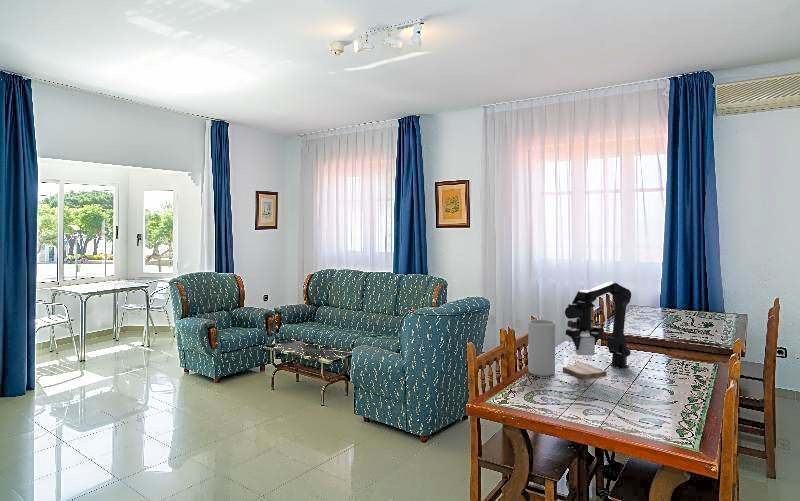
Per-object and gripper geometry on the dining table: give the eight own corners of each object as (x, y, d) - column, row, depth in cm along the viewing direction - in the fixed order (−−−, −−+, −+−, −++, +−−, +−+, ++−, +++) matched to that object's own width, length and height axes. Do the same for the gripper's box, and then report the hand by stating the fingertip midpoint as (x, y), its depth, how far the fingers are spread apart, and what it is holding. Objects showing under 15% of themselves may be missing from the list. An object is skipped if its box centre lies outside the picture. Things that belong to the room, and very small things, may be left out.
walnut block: (585, 367, 242) (585, 363, 242) (606, 375, 229) (606, 371, 229) (562, 371, 237) (562, 367, 237) (582, 379, 224) (582, 375, 224)
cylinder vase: (552, 369, 241) (552, 319, 240) (557, 376, 229) (557, 324, 227) (526, 368, 242) (526, 319, 241) (530, 376, 230) (530, 324, 229)
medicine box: (591, 353, 235) (592, 335, 234) (594, 355, 230) (595, 337, 230) (575, 353, 235) (575, 335, 235) (577, 355, 231) (578, 337, 230)
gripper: (588, 312, 243) (588, 343, 244) (558, 315, 236) (558, 347, 237) (605, 316, 232) (604, 348, 233) (573, 319, 226) (573, 352, 226)
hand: (584, 348), depth 233 cm, fingers closed on medicine box, 9 cm apart
